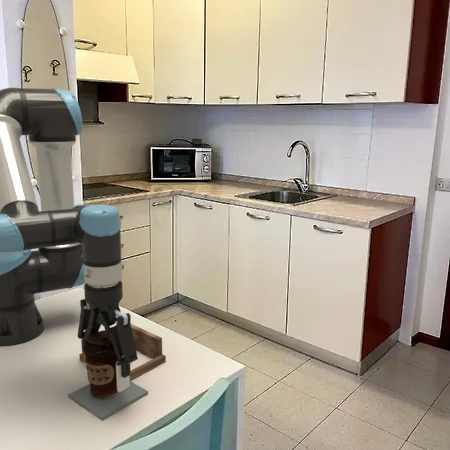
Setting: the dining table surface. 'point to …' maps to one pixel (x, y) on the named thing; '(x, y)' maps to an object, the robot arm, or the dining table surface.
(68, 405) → the dining table surface
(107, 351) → the coffee cup
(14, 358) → the dining table surface
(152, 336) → the rack
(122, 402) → the coaster
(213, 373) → the dining table surface
